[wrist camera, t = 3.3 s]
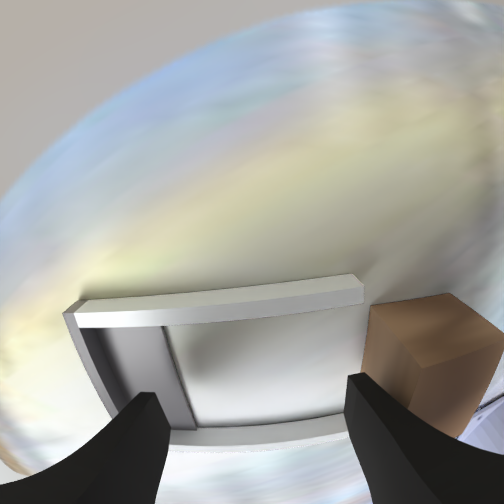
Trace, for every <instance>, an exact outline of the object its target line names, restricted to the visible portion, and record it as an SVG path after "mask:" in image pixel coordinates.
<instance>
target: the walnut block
mask: <svg viewBox="0 0 504 504" xmlns="http://www.w3.org/2000/svg"><path fill="white" fill-rule="evenodd" d="M503 351H504V333H503V332H502V331H501V330H499V329H498V328H497V327H495V326H494V325H493V324H492V323H490V322H489V321H488V320H486V319H485V318H484V317H482V316H481V315H480V314H478V313H477V312H476V311H474V310H473V309H471V308H470V307H469V306H467V305H466V304H465V303H463V302H462V301H460V300H459V299H458V298H456V297H455V296H453V295H452V294H450V293H447V294H441V295H436V296H430V297H424V298H418V299H412V300H406V301H399V302H392V303H386V304H378V305H371V306H370V314H369V322H368V330H367V336H366V343H365V349H364V355H363V361H362V367H361V372H360V373H362V372H365V373H366V374H367V375H369V376H370V377H371V378H372V379H373V380H374V381H375V382H376V383H377V384H378V385H379V386H381V387H382V388H383V389H384V390H385V391H386V392H387V393H389V394H390V395H391V396H392V397H393V398H394V399H396V400H397V401H398V402H399V403H401V404H402V405H403V406H404V407H406V408H407V409H408V410H409V411H411V412H412V413H413V414H415V415H416V416H418V417H419V418H420V419H422V420H423V421H425V422H426V423H428V424H429V425H431V426H433V427H434V428H436V429H438V430H439V431H441V432H443V433H445V434H447V435H449V436H451V437H453V438H455V437H457V436H459V435H461V434H462V433H463V432H464V430H465V428H466V427H467V425H468V423H469V422H470V420H471V418H472V417H473V415H474V413H475V411H476V409H477V408H478V406H479V404H480V402H481V400H482V398H483V396H484V394H485V392H486V390H487V388H488V386H489V384H490V382H491V380H492V377H493V375H494V373H495V371H496V368H497V366H498V364H499V361H500V359H501V356H502V354H503Z"/></svg>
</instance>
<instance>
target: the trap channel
mask: <svg viewBox="0 0 504 504" xmlns="http://www.w3.org/2000/svg"><path fill="white" fill-rule="evenodd" d="M363 303H364V285H363V284H362V283H361V282H360V281H359V280H358V279H357V278H356V277H355V276H354V275H353V274H352V273H351V274H344V275H337V276H330V277H322V278H314V279H307V280H299V281H291V282H283V283H274V284H266V285H257V286H248V287H239V288H229V289H219V290H209V291H199V292H188V293H177V294H165V295H153V296H140V297H126V298H111V299H95V300H77V301H76V302H75V303H74V304H73V305H71V306H70V307H69V308H68V309H67V310H66V311H64V312H63V313H62V314H63V317H64V320H65V322H66V325H67V327H68V330H69V333H70V335H71V338H72V340H73V342H74V345H75V347H76V350H77V352H78V354H79V356H80V359H81V361H82V363H83V365H84V367H85V369H86V371H87V374H88V376H89V378H90V380H91V382H92V384H93V386H94V388H95V389H96V391H97V393H98V395H99V397H100V399H101V401H102V402H103V404H104V406H105V408H106V410H107V411H108V413H109V415H110V416H111V418H112V419H113V418H114V417H115V416H116V415H117V414H119V412H120V411H121V410H122V409H123V408H124V407H125V406H126V405H127V404H128V403H129V402H130V401H131V400H132V399H133V398H134V397H135V396H136V395H137V394H138V393H139V392H155V393H156V395H157V398H158V400H159V402H160V404H161V407H162V409H163V411H164V413H165V415H166V417H167V420H168V422H169V424H170V426H171V434H170V442H169V450H168V451H175V452H194V453H236V452H255V451H268V450H278V449H287V448H295V447H302V446H308V445H315V444H320V443H326V442H331V441H336V440H341V439H345V438H348V436H349V433H348V429H347V425H346V421H345V417H344V414H343V413H341V414H336V415H331V416H326V417H320V418H315V419H308V420H302V421H295V422H287V423H279V424H269V425H258V426H244V427H221V428H197V425H196V423H195V420H194V418H193V415H192V413H191V410H190V407H189V405H188V402H187V399H186V397H185V394H184V391H183V388H182V385H181V382H180V379H179V377H178V374H177V371H176V368H175V364H174V361H173V358H172V355H171V352H170V349H169V345H168V342H167V339H166V335H165V332H164V328H163V326H168V325H185V324H200V323H213V322H225V321H236V320H246V319H256V318H265V317H273V316H282V315H290V314H297V313H305V312H312V311H319V310H326V309H332V308H339V307H345V306H351V305H357V304H363Z"/></svg>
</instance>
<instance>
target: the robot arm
mask: <svg viewBox="0 0 504 504" xmlns="http://www.w3.org/2000/svg"><path fill="white" fill-rule="evenodd" d="M344 417H345V421H346V425H347V429H348V433H349V437H350V439H351V442H352V444H353V447H354V450H355V452H356V455H357V457H358V460H359V462H360V465H361V467H362V470H363V473H364V475H365V478H366V480H367V483H368V486H369V489H370V493H371V497H372V502H373V504H504V396H503V397H501V398H500V399H498V400H496V401H495V402H493V403H491V404H490V405H488V406H486V407H485V408H483V409H481V410H479V411H477V412H476V413H474V415H473V417H472V418H471V420H470V422H469V423H468V425H467V427H466V428H465V430H464V432H463V433H462V434H461V435H459V437H458V439H455V438H453V437H451V436H449V435H447V434H445V433H443V432H441V431H439V430H438V429H436V428H434V427H433V426H431V425H429V424H428V423H426V422H425V421H423V420H422V419H420V418H419V417H418V416H416V415H415V414H413V413H412V412H411V411H409V410H408V409H407V408H406V407H404V406H403V405H402V404H401V403H399V402H398V401H397V400H396V399H394V398H393V397H392V396H391V395H390V394H389V393H387V392H386V391H385V390H384V389H383V388H382V387H381V386H379V385H378V384H377V383H376V382H375V381H374V380H373V379H372V378H371V377H370V376H369V375H367V374H366V373H365V372H362V373H358V374H353V375H348V379H347V389H346V398H345V406H344ZM170 434H171V426H170V424H169V422H168V420H167V417H166V415H165V413H164V411H163V409H162V407H161V404H160V402H159V400H158V398H157V395H156V393H155V392H139V393H138V394H137V395H136V396H135V397H134V398H133V399H132V400H131V401H130V402H129V403H128V404H127V405H126V406H125V407H124V408H123V409H122V410H121V411H120V412H119V414H117V415H116V416H115V417H114V418H113V419H112V420H111V421H110V422H109V423H108V424H107V425H106V426H105V427H104V428H103V429H102V430H101V431H100V432H99V433H97V434H96V435H95V436H94V437H93V438H92V439H90V440H89V441H88V442H87V443H86V444H85V445H83V446H82V447H81V448H79V449H78V450H77V451H75V452H74V453H72V454H71V455H69V456H68V457H67V458H65V459H63V460H62V461H60V462H58V463H56V464H55V465H53V466H51V467H49V468H47V469H45V470H43V471H41V472H39V473H37V474H34V475H32V476H29V477H26V478H24V479H21V480H18V481H14V482H10V483H6V484H2V485H0V504H155V499H156V495H157V491H158V487H159V483H160V480H161V476H162V472H163V469H164V465H165V461H166V458H167V454H168V450H169V442H170Z"/></svg>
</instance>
